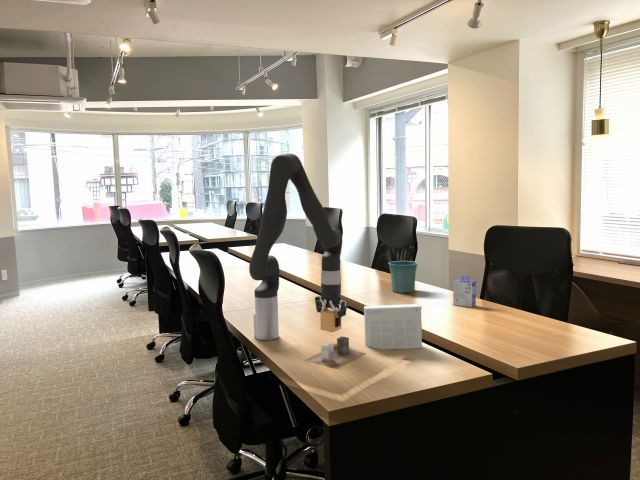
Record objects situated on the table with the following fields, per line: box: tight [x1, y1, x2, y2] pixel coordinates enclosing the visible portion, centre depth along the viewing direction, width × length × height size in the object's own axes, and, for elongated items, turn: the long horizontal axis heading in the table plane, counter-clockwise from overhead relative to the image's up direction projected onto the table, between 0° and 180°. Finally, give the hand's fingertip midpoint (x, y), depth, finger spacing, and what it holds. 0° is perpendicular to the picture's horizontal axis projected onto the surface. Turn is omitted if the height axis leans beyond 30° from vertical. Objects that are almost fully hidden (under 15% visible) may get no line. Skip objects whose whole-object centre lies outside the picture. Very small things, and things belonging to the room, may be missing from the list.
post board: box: [304, 336, 367, 370], centre depth 177 cm, size 14×18×7 cm
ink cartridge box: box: [452, 275, 477, 308], centre depth 250 cm, size 10×6×14 cm, turn 53°
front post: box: [320, 342, 335, 363], centre depth 173 cm, size 3×3×6 cm
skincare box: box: [363, 303, 423, 351], centre depth 190 cm, size 21×5×16 cm, turn 92°
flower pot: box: [387, 260, 418, 294], centre depth 284 cm, size 16×16×16 cm
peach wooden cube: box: [320, 308, 342, 333], centre depth 192 cm, size 6×6×7 cm
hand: (331, 325), depth 192 cm, fingers closed on peach wooden cube, 5 cm apart
